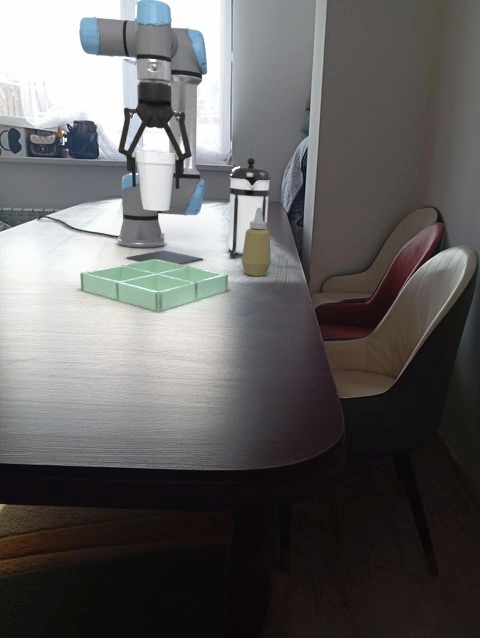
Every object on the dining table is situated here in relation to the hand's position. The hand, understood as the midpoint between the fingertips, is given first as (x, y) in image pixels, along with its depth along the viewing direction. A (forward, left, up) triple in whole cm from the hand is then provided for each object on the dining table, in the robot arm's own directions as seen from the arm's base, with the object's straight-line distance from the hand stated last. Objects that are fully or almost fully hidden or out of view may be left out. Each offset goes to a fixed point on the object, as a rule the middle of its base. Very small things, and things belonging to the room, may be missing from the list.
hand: (155, 187), depth 124 cm
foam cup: (0, 0, -5) cm, 5 cm away
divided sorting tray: (+8, -8, -23) cm, 25 cm away
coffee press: (-3, +45, -23) cm, 50 cm away
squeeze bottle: (+15, +24, -23) cm, 36 cm away
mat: (-15, +20, -23) cm, 34 cm away
